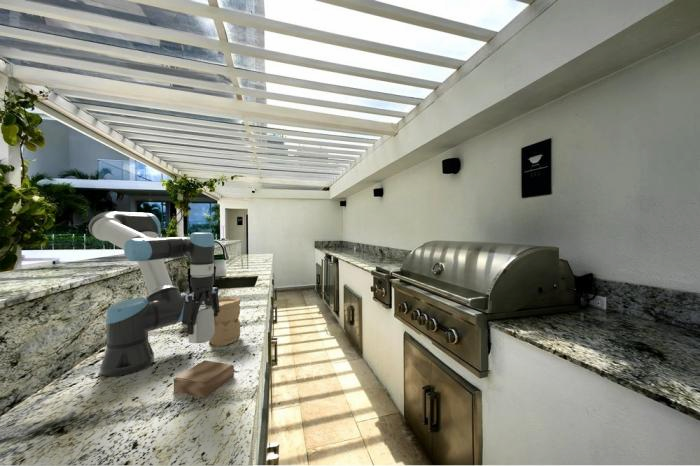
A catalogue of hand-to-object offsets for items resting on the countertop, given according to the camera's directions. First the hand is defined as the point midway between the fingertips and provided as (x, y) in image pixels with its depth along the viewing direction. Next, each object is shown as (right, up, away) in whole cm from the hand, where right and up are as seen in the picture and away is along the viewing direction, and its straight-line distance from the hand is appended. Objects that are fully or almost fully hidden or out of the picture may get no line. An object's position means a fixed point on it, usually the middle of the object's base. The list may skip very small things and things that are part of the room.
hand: (201, 337), depth 99 cm
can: (0, -1, 0) cm, 1 cm away
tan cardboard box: (+8, -10, -12) cm, 17 cm away
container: (-1, -10, +22) cm, 24 cm away
